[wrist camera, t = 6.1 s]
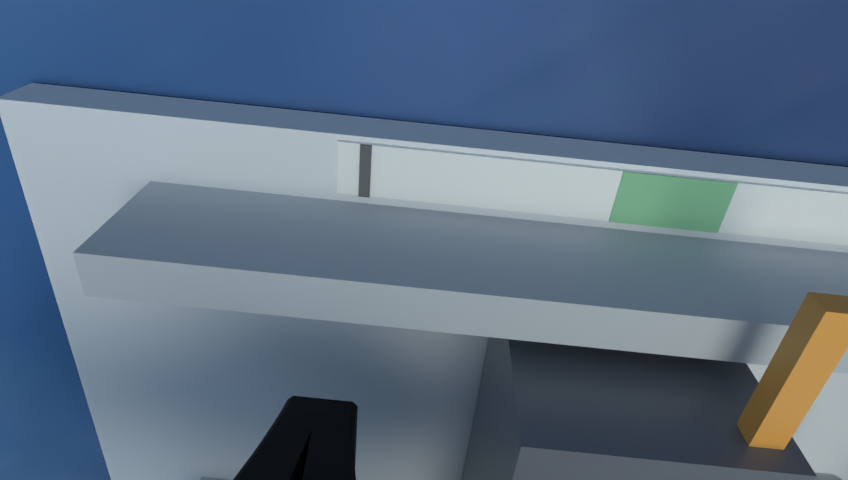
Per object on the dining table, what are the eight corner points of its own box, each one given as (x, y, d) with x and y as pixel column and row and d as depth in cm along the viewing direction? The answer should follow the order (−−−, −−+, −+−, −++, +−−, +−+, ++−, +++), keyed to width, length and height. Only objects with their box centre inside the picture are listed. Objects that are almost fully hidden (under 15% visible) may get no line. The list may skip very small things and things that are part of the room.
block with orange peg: (727, 526, 15) (809, 717, 11) (457, 499, 15) (457, 682, 11) (925, 204, 10) (1175, 367, 6) (523, 162, 10) (559, 305, 6)
